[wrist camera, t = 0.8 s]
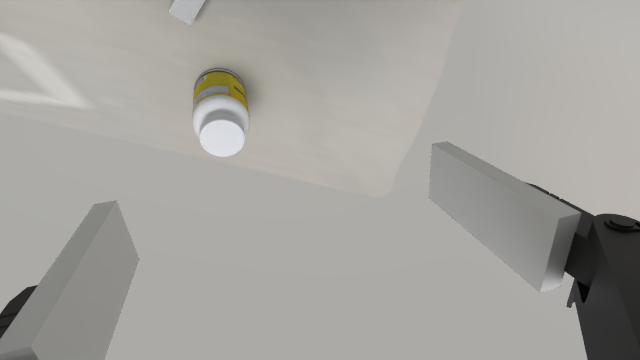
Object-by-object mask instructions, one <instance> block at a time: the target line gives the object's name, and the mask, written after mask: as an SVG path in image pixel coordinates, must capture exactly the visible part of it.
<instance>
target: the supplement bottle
mask: <svg viewBox="0 0 640 360" xmlns="http://www.w3.org/2000/svg"><path fill="white" fill-rule="evenodd" d="M192 124H193V128H194V130H195V132H196V134H197V135H198V136H199V139H200V143H201V145H202V147H203V148H204V149H205V150H206V151H207V152H208V153H210V154H212V155H215V156H221V157H225V156H230V155H233V154H235V153H237V152H238V151H239V150H240V149H241V148H242V147H243V145H244V141H245V135H246V134H247V132H248V130H249V125H250V118H249V112H248V105H247V100H246V94H245V89H244V86H243V83H242V82H241V80H240V79H239V78H238V77H237V76H236V75H235V74H234V73H232V72H230V71H227V70H224V69H213V70H209V71H207V72H205V73H203V74H202V75H201V76H200V77H199V78H198V80H197V81H196V84H195V88H194V100H193V114H192Z"/></svg>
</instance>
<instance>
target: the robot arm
mask: <svg viewBox="0 0 640 360" xmlns="http://www.w3.org/2000/svg"><path fill="white" fill-rule="evenodd" d="M430 168H431V169H430V183H429V184H430V185H429V199H431V200H432V201H433V202H434V203H435V204H436V205H438V206H439V207H440V208H441V209H442V210H443V211H445V212H446V213H447V214H448V215H449V216H451V217H452V218H453V219H454V220H455V221H456V222H457V223H459V224H460V225H461V226H462V227H463V228H465V229H466V230H467V231H468V232H469V233H470V234H472V235H473V236H474V237H475V238H476V239H478V240H479V241H480V242H481V243H482V244H483V245H484V246H486V247H487V248H488V249H489V250H490V251H492V252H493V253H494V254H495V255H496V256H497V257H499V258H500V259H501V260H502V261H503V262H504V263H506V264H507V265H508V266H509V267H510V268H511V269H513V270H514V271H515V272H516V273H517V274H519V275H520V276H521V277H522V278H523V279H524V280H526V281H527V282H528V283H529V284H530V285H531V286H533V287H534V288H535V289H536V290H537V291H539V292H540V293H541V292H544V291H548V290H551V289H555V288H558V287H560V286H561V282H562V279H563V276H564V272H567V273H568V274H570V275H571V276H572V277H574V278H575V279H574V282H573V285H572V289H571V292H570V295H569V299H568V302H567V307H569V308H571V306H572V303H573V302H575V304H576V308H577V313H578V317H579V322H580V326H581V331H582V335H583V340H584V345H585V349H586V354H587V358H588V360H640V222H639V221H637V220H635V219H632V218H629V217H626V216H621V215H616V214H600V215H597V216H594V215H592V214H590V213H588V212H586V211H584V210H582V209H580V208H578V207H576V206H574V205H573V204H571V203H569V202H567V201H565V200H563V199H559V197H557V196H555V195H553V194H549V192H548V191H546V190H544V189H542V188H540V187H538V186H536V185H533V184H529V183H526V182H523V181H521V180H519V179H517V178H515V177H513V176H511V175H509V174H508V173H506V172H503V171H502V170H500V169H498V168H496V167H494V166H493V165H491V164H489V163H487V162H485V161H483V160H481V159H479V158H478V157H476V156H474V155H472V154H470V153H468V152H466V151H464V150H462V149H461V148H459V147H457V146H455V145H453V144H451V143H449V142H441V143H435V144H432V152H431V167H430ZM138 261H139V257H138V254H137V252H136V249H135V247H134V244H133V241H132V239H131V236H130V234H129V231H128V229H127V226H126V223H125V221H124V218H123V216H122V213H121V210H120V208H119V205H118V203H117V201H110V202H105V203H100V204H94V206H93V207H92V208H91V210H90V211H89V213H88V214H87V216H86V217H85V219H84V220H83V221H82V223H81V224H80V226H79V227H78V229H77V230H76V231H75V233H74V234H73V236H72V237H71V239H70V240H69V241H68V243H67V244H66V246H65V247H64V249H63V250H62V251H61V253H60V254H59V256H58V257H57V259H56V260H55V262H54V263H53V264H52V266H51V267H50V269H49V270H48V272H47V273H46V275H45V276H44V277H43V279H42V280H41V282H40V283H39V284H38V285H36V286H32V287H27V288H26V289H25V290H23V291H22V292H21V293H20V294H19V295H17V296H16V297H15V298H14V299H12V300H11V301H10V302H9V303H8V304H7V306H6V307H5V308H4V310H3V311H2V312H1V314H0V360H104V359H105V356H106V353H107V350H108V347H109V344H110V341H111V339H112V336H113V333H114V330H115V327H116V324H117V322H118V319H119V316H120V313H121V309H122V307H123V304H124V301H125V299H126V296H127V293H128V290H129V287H130V284H131V281H132V278H133V276H134V273H135V269H136V267H137V264H138Z"/></svg>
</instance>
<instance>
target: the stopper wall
mask: <svg viewBox="0 0 640 360" xmlns="http://www.w3.org/2000/svg"><path fill="white" fill-rule="evenodd" d="M204 2H205V0H173V1H172V3H171V5H170V8H169V11H168V12H170V13H171V14H173V15H174V16H176V17H177V18H179V19H180V20H182V21H183V22H185V23H186V24H188V25H189V26H191V24H192V22H193V20H194V19H195V17H196V15H197V14H198V12H199V10H200V8H201V7H202V5H203V3H204Z"/></svg>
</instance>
